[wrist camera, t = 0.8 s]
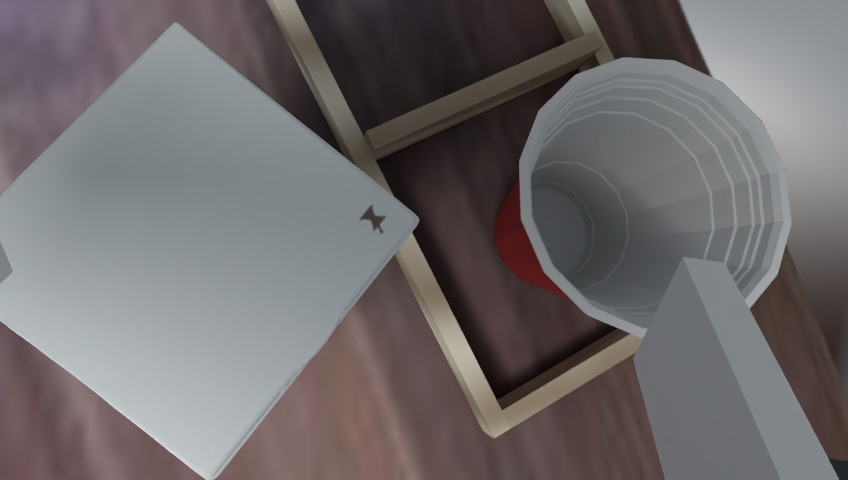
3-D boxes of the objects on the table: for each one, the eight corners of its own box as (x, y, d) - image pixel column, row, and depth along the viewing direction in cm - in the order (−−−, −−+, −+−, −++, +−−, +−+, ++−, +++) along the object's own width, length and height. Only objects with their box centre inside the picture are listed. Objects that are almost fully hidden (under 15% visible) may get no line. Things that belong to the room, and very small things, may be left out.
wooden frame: (215, -101, 31) (205, -142, 28) (471, -183, 35) (486, -228, 32) (482, 430, 31) (500, 443, 28) (713, 290, 35) (751, 289, 32)
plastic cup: (511, 101, 33) (620, -9, 22) (656, 209, 34) (835, 160, 23) (407, 255, 31) (467, 225, 19) (565, 366, 32) (712, 400, 21)
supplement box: (241, 149, 30) (177, 2, 15) (374, 258, 31) (434, 216, 16) (115, 285, 28) (-93, 265, 14) (260, 398, 29) (211, 493, 14)
